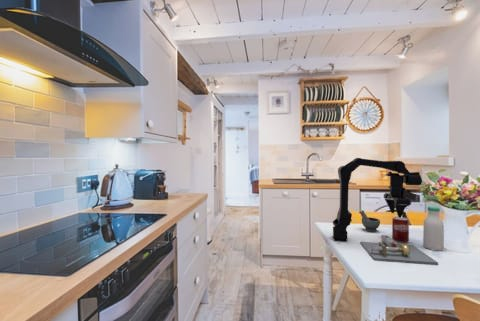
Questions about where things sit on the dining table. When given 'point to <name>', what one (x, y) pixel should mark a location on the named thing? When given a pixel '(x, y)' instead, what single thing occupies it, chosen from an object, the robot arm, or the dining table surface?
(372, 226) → the mortar and pestle
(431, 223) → the milk bottle
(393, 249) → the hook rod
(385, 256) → the eye staple
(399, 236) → the soda can
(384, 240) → the ball-ended metal rod
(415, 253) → the flat gray base plate
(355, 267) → the dining table surface
